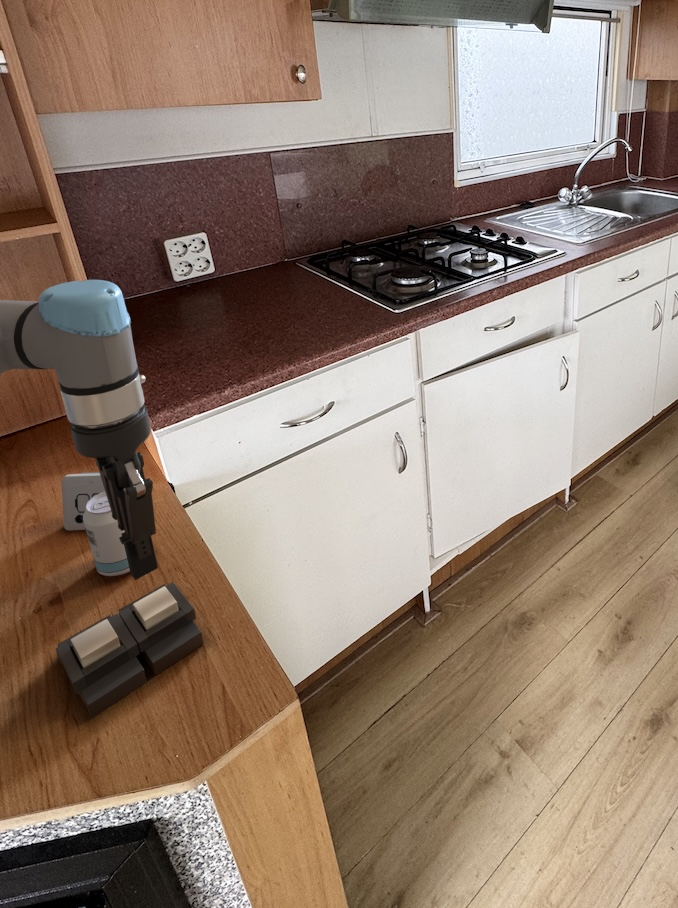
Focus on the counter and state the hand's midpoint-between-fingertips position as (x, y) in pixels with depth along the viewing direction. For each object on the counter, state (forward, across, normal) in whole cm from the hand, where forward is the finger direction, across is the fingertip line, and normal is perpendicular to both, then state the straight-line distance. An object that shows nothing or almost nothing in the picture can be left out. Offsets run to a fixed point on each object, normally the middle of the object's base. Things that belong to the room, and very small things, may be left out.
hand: (144, 571), depth 75 cm
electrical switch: (+11, +31, -2) cm, 33 cm away
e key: (+7, 0, 0) cm, 7 cm away
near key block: (+11, 0, +7) cm, 13 cm away
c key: (+7, 0, +7) cm, 10 cm away
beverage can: (+11, +17, -1) cm, 20 cm away
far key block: (+11, 0, 0) cm, 11 cm away
